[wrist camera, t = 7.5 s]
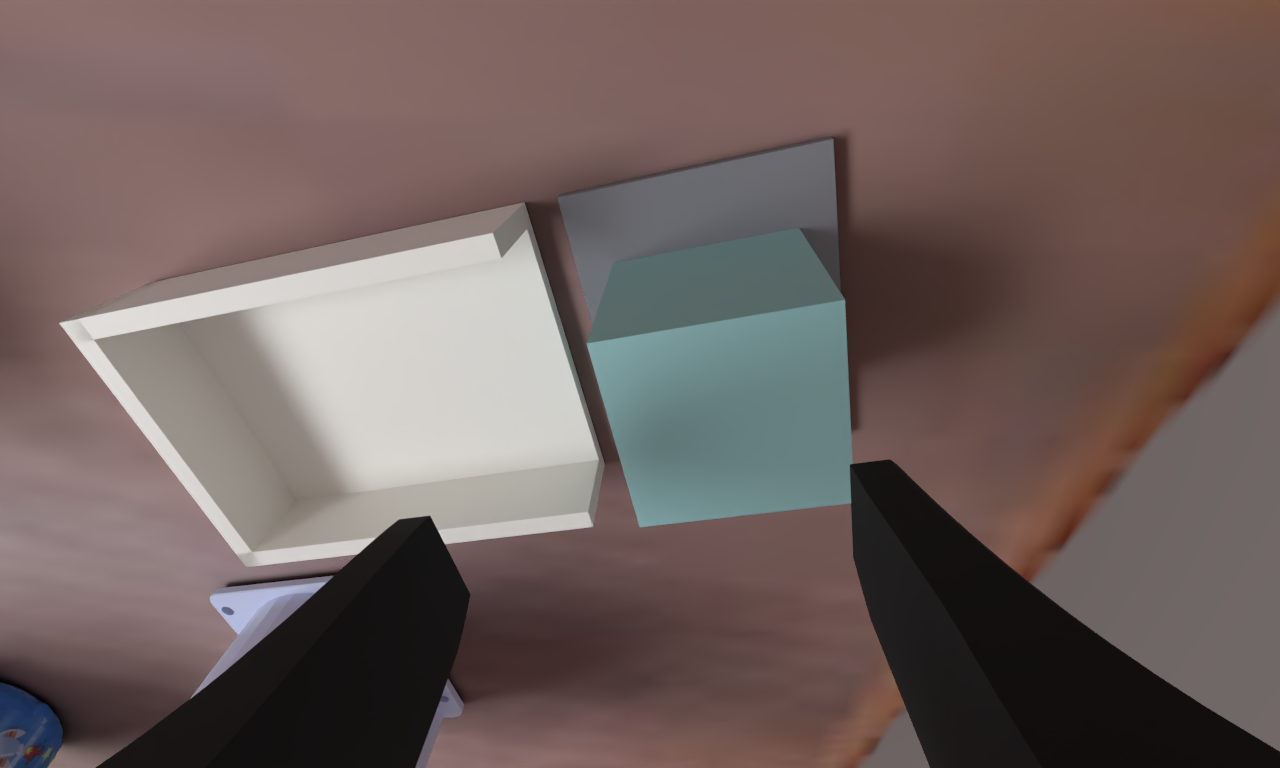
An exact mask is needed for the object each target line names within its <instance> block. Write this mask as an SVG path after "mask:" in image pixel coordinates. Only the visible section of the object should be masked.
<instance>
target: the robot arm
mask: <svg viewBox="0 0 1280 768" xmlns="http://www.w3.org/2000/svg"><path fill="white" fill-rule="evenodd" d="M850 485H851V509H852V534H853V557H854V561H855V565H856V568H857V572H858V576H859V579H860V583H861V587H862V590H863V594H864V597H865V601H866V604H867V608H868V611H869V615H870V618H871V621H872V623H873V626H874V628H875V631H876V634H877V636H878V639H879V641H880V644H881V646H882V649H883V651H884V654H885V656H886V659H887V661H888V664H889V666H890V669H891V671H892V674H893V676H894V679H895V681H896V684H897V686H898V689H899V691H900V694H901V696H902V699H903V701H904V704H905V706H906V709H907V711H908V714H909V716H910V718H911V721H912V723H913V726H914V728H915V731H916V733H917V736H918V738H919V741H920V743H921V746H922V748H923V751H924V753H925V756H926V758H927V761H928V763H929V766H930V768H1280V751H1278V750H1276V749H1274V748H1273V747H1271V746H1270V745H1268V744H1266V743H1264V742H1263V741H1261V740H1260V739H1258V738H1256V737H1255V736H1253V735H1251V734H1250V733H1248V732H1246V731H1245V730H1243V729H1241V728H1240V727H1238V726H1236V725H1235V724H1233V723H1231V722H1230V721H1228V720H1226V719H1225V718H1223V717H1221V716H1220V715H1218V714H1216V713H1215V712H1213V711H1211V710H1210V709H1208V708H1206V707H1205V706H1203V705H1202V704H1200V703H1199V702H1197V701H1196V700H1194V699H1193V698H1191V697H1190V696H1188V695H1186V694H1185V693H1183V692H1182V691H1180V690H1179V689H1177V688H1176V687H1174V686H1173V685H1171V684H1170V683H1168V682H1166V681H1165V680H1163V679H1162V678H1160V677H1159V676H1157V675H1156V674H1154V673H1153V672H1151V671H1150V670H1148V669H1147V668H1145V667H1144V666H1142V665H1141V664H1140V663H1138V662H1137V661H1135V660H1134V659H1132V658H1131V657H1129V656H1128V655H1127V654H1125V653H1124V652H1122V651H1121V650H1119V649H1118V648H1116V647H1115V646H1113V645H1112V644H1110V643H1109V642H1108V641H1106V640H1105V639H1103V638H1102V637H1101V636H1099V635H1098V634H1097V633H1095V632H1094V631H1092V630H1091V629H1090V628H1088V627H1087V626H1086V625H1084V624H1083V623H1081V622H1080V621H1078V620H1077V619H1076V618H1075V617H1073V616H1072V615H1071V614H1069V613H1068V612H1067V611H1065V610H1064V609H1063V608H1061V607H1060V606H1059V605H1058V604H1056V603H1055V602H1054V601H1052V600H1051V599H1050V598H1048V597H1047V596H1046V595H1045V594H1043V593H1042V592H1041V591H1040V590H1038V589H1037V588H1036V587H1034V586H1033V585H1032V584H1030V583H1029V582H1028V581H1027V580H1025V579H1024V578H1023V577H1022V576H1021V575H1019V574H1018V573H1017V572H1016V571H1014V570H1013V569H1012V568H1011V567H1009V566H1008V565H1007V564H1006V563H1005V562H1003V561H1002V560H1001V559H1000V558H999V557H998V556H996V555H995V554H994V553H993V552H992V551H991V550H989V549H988V548H987V547H986V546H985V545H983V544H982V543H981V542H980V541H979V540H978V539H976V538H975V537H974V536H973V535H972V534H971V533H969V532H968V531H967V530H966V529H965V528H964V527H963V526H962V525H960V524H959V523H958V522H957V521H956V520H955V519H954V518H953V517H952V516H950V515H949V514H948V513H947V512H946V511H945V510H944V509H943V508H942V507H941V506H940V505H938V504H937V503H936V502H935V501H934V500H933V499H932V498H931V497H930V496H929V495H928V494H927V493H926V492H925V491H924V490H923V489H921V488H920V487H919V486H918V485H917V484H916V483H915V482H914V481H913V480H912V479H911V478H910V477H909V476H908V475H907V474H906V473H905V472H904V471H903V470H902V469H901V468H900V467H899V466H898V465H897V464H895V463H894V462H893V461H891V460H882V461H874V462H866V463H858V464H850ZM469 598H470V593H469V591H468V589H467V587H466V585H465V583H464V581H463V579H462V577H461V575H460V573H459V571H458V569H457V567H456V565H455V564H454V562H453V560H452V558H451V556H450V554H449V552H448V550H447V548H446V546H445V544H444V542H443V540H442V538H441V536H440V534H439V532H438V530H437V528H436V526H435V524H434V522H433V520H432V518H431V516H423V517H414V518H406V519H399V520H398V521H396V522H395V523H394V524H393V525H391V526H390V527H389V528H388V529H386V530H385V531H384V532H383V533H382V534H380V535H379V536H378V537H377V538H376V539H375V540H373V541H372V542H371V543H370V544H369V545H368V546H367V547H366V548H364V549H363V550H362V551H361V552H360V553H359V554H358V555H357V556H355V557H354V558H353V559H352V560H351V561H350V562H349V563H348V564H347V565H346V566H344V567H343V568H342V569H341V570H340V571H339V572H338V573H337V574H336V575H335V576H326V577H317V578H307V579H298V580H289V581H280V582H271V583H262V584H253V585H244V586H235V587H226V588H219V589H217V590H216V591H215V592H214V593H213V594H212V595H211V597H210V601H211V603H212V605H213V606H214V607H215V608H216V609H217V611H218V612H219V613H220V614H221V615H222V616H223V618H224V619H225V620H226V621H227V622H228V624H229V625H230V626H231V627H232V628H233V630H234V631H235V632H236V633H237V634H238V636H237V638H236V639H235V640H234V641H233V643H232V644H231V645H230V647H229V648H228V649H227V651H226V652H225V653H224V655H223V656H222V657H221V659H220V660H219V661H218V663H217V664H216V665H215V666H214V668H213V669H212V670H211V672H210V673H209V674H208V676H207V677H206V678H205V680H204V681H203V682H202V684H201V685H200V686H199V688H198V689H197V690H196V691H195V693H194V694H193V695H192V697H191V698H190V699H189V700H188V701H187V702H186V703H184V704H183V705H182V706H180V707H179V708H178V709H176V710H175V711H174V712H172V713H171V714H170V715H168V716H167V717H166V718H164V719H163V720H162V721H160V722H159V723H158V724H156V725H155V726H154V727H152V728H151V729H150V730H148V731H147V732H146V733H144V734H143V735H142V736H140V737H139V738H138V739H136V740H135V741H133V742H132V743H131V744H129V745H128V746H126V747H125V748H123V749H122V750H121V751H119V752H118V753H116V754H115V755H113V756H112V757H110V758H109V759H108V760H106V761H105V762H103V763H102V764H100V765H99V766H97V767H96V768H425V767H426V765H427V762H428V759H429V756H430V753H431V751H432V748H433V745H434V742H435V739H436V737H437V734H438V731H439V728H440V726H441V723H442V720H443V718H449V717H458V716H460V715H461V714H462V711H463V708H464V704H463V702H462V700H461V699H460V697H459V695H458V694H457V692H456V691H455V689H454V687H453V686H452V684H451V682H450V681H449V679H448V677H449V674H450V672H451V669H452V666H453V663H454V660H455V657H456V654H457V651H458V647H459V643H460V639H461V635H462V631H463V627H464V622H465V618H466V613H467V608H468V603H469Z"/></svg>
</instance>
